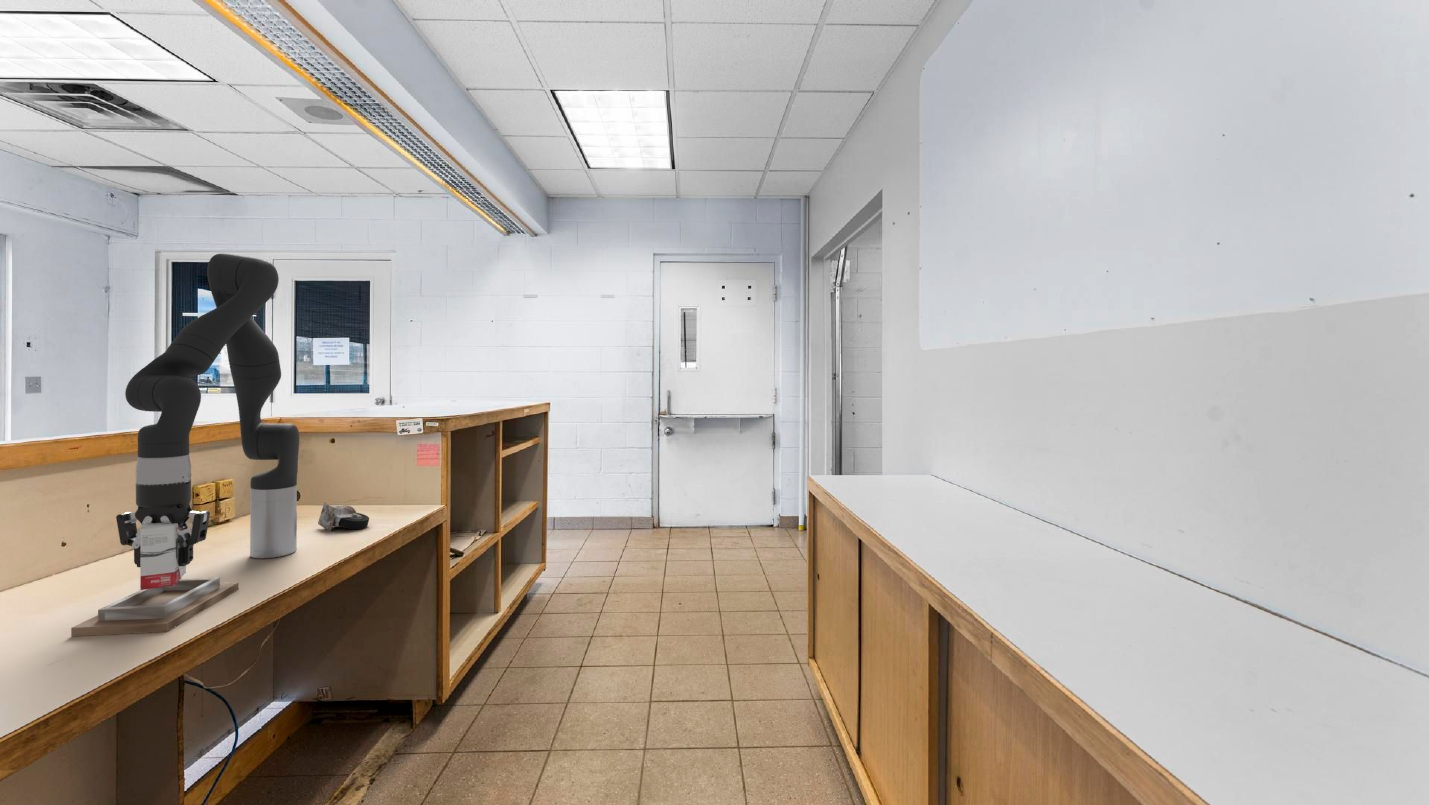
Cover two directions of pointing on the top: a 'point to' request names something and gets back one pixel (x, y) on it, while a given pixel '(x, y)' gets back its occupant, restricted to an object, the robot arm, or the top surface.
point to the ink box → (159, 556)
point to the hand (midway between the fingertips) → (164, 565)
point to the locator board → (156, 608)
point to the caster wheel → (342, 517)
